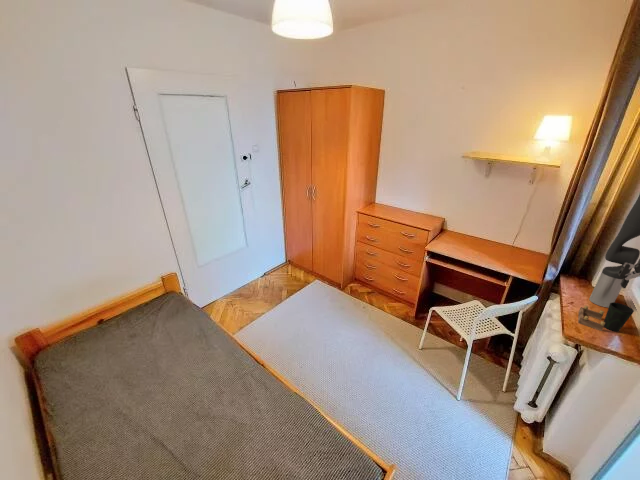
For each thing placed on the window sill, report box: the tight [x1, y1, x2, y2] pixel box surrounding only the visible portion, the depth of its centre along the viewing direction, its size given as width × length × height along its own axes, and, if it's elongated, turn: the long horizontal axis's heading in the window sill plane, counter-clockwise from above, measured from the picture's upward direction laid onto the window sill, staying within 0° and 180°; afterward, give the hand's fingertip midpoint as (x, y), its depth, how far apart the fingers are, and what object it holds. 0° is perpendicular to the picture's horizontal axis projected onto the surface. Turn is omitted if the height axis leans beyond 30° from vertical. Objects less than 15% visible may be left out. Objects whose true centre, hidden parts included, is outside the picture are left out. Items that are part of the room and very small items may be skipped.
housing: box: [577, 305, 605, 332], centre depth 133 cm, size 13×8×4 cm, turn 138°
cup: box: [603, 301, 635, 333], centre depth 127 cm, size 8×8×12 cm
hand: (638, 290), depth 108 cm, fingers open, 8 cm apart
